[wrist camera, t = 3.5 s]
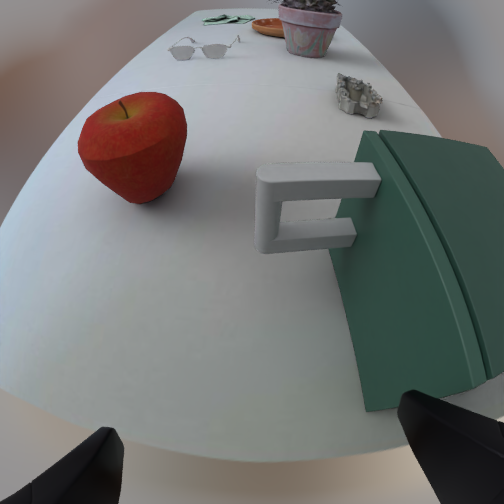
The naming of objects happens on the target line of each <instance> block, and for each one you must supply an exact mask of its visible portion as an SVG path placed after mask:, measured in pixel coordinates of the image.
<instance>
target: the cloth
mask: <svg viewBox="0 0 504 504" xmlns="http://www.w3.org/2000/svg"><path fill="white" fill-rule="evenodd" d="M251 19H255V17H252V16H249V15H245V16H229V15H221V16H218V17H211V18H206V19H202V21H205V23H204V25H212V24H225V23H227V22H229V21H230V22H229V23H239V24H244V23H246V22H248V21H250V20H251Z"/></svg>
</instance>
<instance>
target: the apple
mask: <svg viewBox="0 0 504 504" xmlns="http://www.w3.org/2000/svg"><path fill="white" fill-rule="evenodd" d="M186 137H187V123H186V119H185V115H184V111H183V108H182V107H181V106H180V105H179V104H178V102H177V101H176V100H174V99H172V98H171V97H169V96H167V95H166V94H162V93H157V92H139V93H136V94H132V95H128V96H125V97H122V98H120V99H118V100H116V101H114V102H112V103H110V104H108V105H106V106H104V107H102V108H101V109H99V110H97V111H96V112H95V113H93V114H92V115H91V116H90V117H88V118H87V120H86V122H85V124H84V126H83V128H82V131H81V134H80V137H79V140H78V153H79V155H80V157H81V160H82V162H83V164H84V166H85V168H86V169H87V170H88V171H89V172H90V173H91V174H92V175H94V176H95V177H96V178H97V179H98V180H99V181H101V182H102V183H103V184H104V185H105V186H107V187H108V188H110V189H111V190H112V191H114V192H115V193H117V194H118V195H120V196H121V197H122V198H124V199H125V200H127V201H128V202H130V203H137V204H141V203H145V202H148V201H152V200H153V199H155V198H157V197H158V196H160V195H162V194H163V193H164V192H165V191H167V190H168V189H169V188H170V187H171V185H172V183H173V182H174V180H175V177H176V175H177V172H178V169H179V166H180V163H181V161H182V157H183V152H184V147H185V142H186Z"/></svg>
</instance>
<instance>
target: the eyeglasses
mask: <svg viewBox="0 0 504 504" xmlns="http://www.w3.org/2000/svg"><path fill="white" fill-rule="evenodd" d="M184 38H189V37H184ZM184 38H182V39H184ZM237 38H238V42H239V41H240V38H239V35H237ZM237 38H236V39H237ZM182 39H181V40H182ZM189 39H190V40H191V42H192V43H194V42H195V40H193V39H192V38H189ZM178 42H179V41H178ZM178 42H177V43H178ZM234 42H235V41H234ZM234 42H233V43H234ZM233 43H232V44H233ZM232 44H231V45H232ZM174 45H175V44H174ZM174 45H173V46H174ZM231 45H229V46H226V45H223V44H211V45H205V46H203V47H196V48H202V51H203V53H204V54H205V56H206V57H207V58H210V59H219V58H222V57H223V56H224V55H225V53H226V51H227V48H230V47H231ZM173 46H172V48H168V49H167V50H168V51H170V52H171V54H172V55H173V57H174V58H175V59H177V60H187V59H190V58H191V57H192V55H193V53H194V51H195V50H194V49H195V48H193V47H191V46H177V47H173Z"/></svg>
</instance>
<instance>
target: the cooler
mask: <svg viewBox="0 0 504 504" xmlns="http://www.w3.org/2000/svg"><path fill="white" fill-rule="evenodd" d="M379 137H380V138H381V139H382V141H383V142H384V144H385V145H386V147H387V148H388V150H389V151H390V153H391V154H392V156H393V157H394V159H395V160H396V162H397V163H398V165H399V167H400V168H401V170H402V171H403V173H404V175H405V176H406V178H407V180H408V181H409V183H410V185H411V186H412V188H413V190H414V192H415V193H416V195H417V197H418V199H419V200H420V202H421V204H422V206H423V208H424V210H425V212H426V213H427V215H428V217H429V219H430V221H431V223H432V225H433V227H434V229H435V231H436V233H437V235H438V237H439V239H440V242H441V244H442V246H443V248H444V250H445V253H446V255H447V257H448V259H449V262H450V264H451V266H452V269H453V271H454V274H455V276H456V279H457V281H458V284H459V286H460V289H461V292H462V294H463V297H464V300H465V303H466V306H467V309H468V312H469V315H470V318H471V321H472V324H473V327H474V331H475V334H476V337H477V341H478V345H479V348H480V352H481V356H482V360H483V364H484V369H485V373H486V378H487V380H490V379H492V378H494V377H496V376H498V375H499V374H501V373H502V372H504V169H503V167H502V166H501V165H500V163H499V162H498V161H497V160H496V158H495V157H494V156H493V154H492V153H491V152H490V151H489V149H487V147H483V146H479V145H475V144H470V143H465V142H460V141H455V140H450V139H444V138H439V137H433V136H426V135H420V134H412V133H405V132H396V131H387V130H380V132H379Z"/></svg>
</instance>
